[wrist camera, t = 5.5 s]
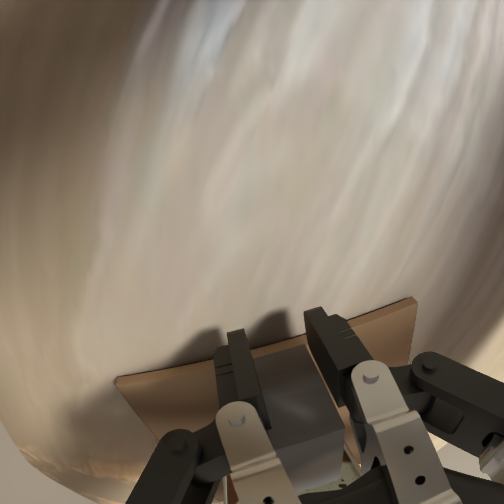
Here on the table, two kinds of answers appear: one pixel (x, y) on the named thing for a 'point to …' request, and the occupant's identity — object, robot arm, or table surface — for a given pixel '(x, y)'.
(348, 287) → the table surface
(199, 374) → the walnut board
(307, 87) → the table surface
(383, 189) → the table surface
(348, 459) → the food container
